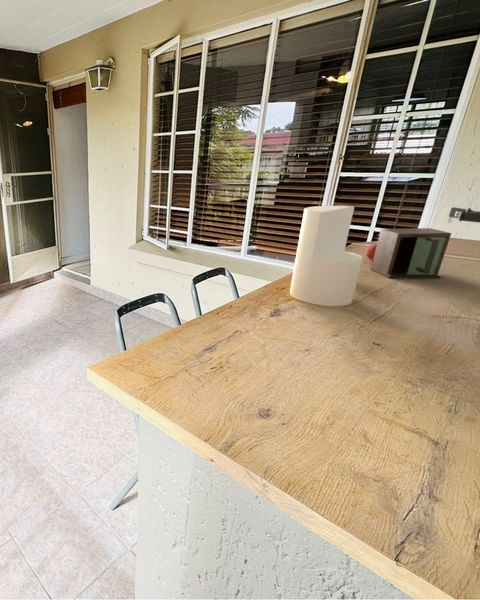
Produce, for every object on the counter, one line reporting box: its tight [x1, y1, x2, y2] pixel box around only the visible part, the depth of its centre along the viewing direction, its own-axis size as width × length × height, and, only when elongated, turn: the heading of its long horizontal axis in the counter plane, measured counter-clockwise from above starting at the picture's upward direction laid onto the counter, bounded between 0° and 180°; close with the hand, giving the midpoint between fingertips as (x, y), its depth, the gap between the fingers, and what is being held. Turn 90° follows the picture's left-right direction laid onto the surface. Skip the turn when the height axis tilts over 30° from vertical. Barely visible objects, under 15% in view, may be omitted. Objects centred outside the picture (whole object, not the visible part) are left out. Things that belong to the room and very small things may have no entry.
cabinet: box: [370, 227, 452, 280], centre depth 128 cm, size 12×16×16 cm
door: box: [407, 237, 445, 275], centre depth 121 cm, size 6×8×14 cm
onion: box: [365, 243, 377, 262], centre depth 147 cm, size 6×6×8 cm
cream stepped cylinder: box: [289, 205, 364, 307], centre depth 109 cm, size 17×17×28 cm
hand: (478, 211), depth 104 cm, fingers open, 13 cm apart
